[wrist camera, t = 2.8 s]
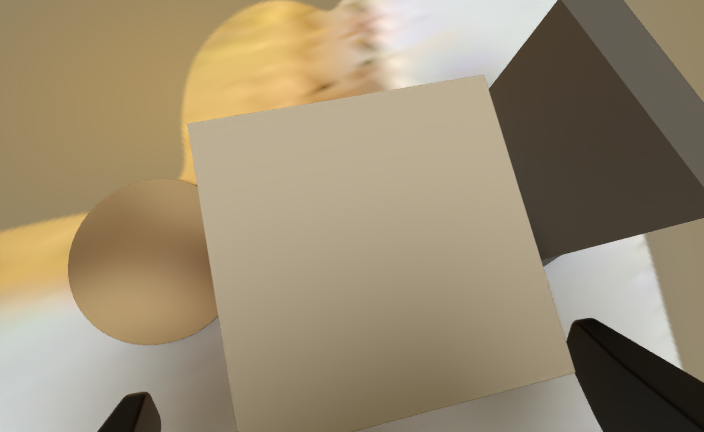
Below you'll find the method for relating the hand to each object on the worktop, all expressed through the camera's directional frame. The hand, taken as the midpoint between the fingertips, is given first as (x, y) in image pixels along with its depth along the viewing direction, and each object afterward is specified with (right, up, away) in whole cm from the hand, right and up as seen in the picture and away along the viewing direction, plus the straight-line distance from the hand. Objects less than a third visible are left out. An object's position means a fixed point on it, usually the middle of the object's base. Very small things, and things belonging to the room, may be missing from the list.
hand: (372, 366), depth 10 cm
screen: (+7, +4, +12) cm, 15 cm away
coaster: (-9, +1, +10) cm, 13 cm away
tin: (-1, 0, +11) cm, 11 cm away
